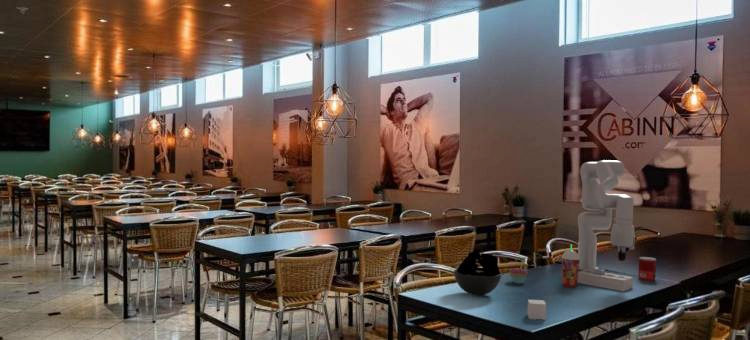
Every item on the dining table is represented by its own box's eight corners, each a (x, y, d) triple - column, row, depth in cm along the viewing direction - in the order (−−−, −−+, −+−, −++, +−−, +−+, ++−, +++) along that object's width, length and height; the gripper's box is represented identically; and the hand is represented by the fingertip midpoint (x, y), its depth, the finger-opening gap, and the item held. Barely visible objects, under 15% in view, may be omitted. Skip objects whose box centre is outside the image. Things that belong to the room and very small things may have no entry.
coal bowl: (490, 303, 241) (492, 257, 240) (445, 295, 251) (447, 251, 251) (506, 294, 258) (508, 251, 257) (464, 287, 268) (466, 246, 268)
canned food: (657, 281, 298) (658, 259, 298) (640, 280, 299) (641, 258, 299) (653, 278, 305) (654, 257, 305) (636, 277, 307) (637, 256, 307)
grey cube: (545, 320, 218) (546, 304, 218) (529, 319, 219) (529, 303, 219) (543, 316, 224) (544, 300, 224) (527, 314, 225) (527, 299, 225)
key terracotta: (603, 283, 283) (604, 274, 282) (607, 282, 285) (607, 273, 285) (612, 284, 280) (612, 275, 280) (615, 283, 283) (615, 274, 283)
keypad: (576, 282, 289) (576, 272, 288) (585, 279, 296) (586, 269, 296) (623, 291, 273) (624, 280, 272) (632, 287, 281) (633, 277, 280)
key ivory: (615, 285, 279) (615, 276, 279) (618, 284, 282) (618, 275, 282) (623, 286, 276) (624, 277, 276) (626, 285, 279) (627, 276, 279)
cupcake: (528, 282, 285) (529, 257, 285) (525, 285, 278) (526, 260, 277) (510, 279, 289) (511, 255, 289) (507, 283, 281) (508, 258, 281)
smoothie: (578, 285, 281) (580, 243, 281) (578, 289, 274) (580, 246, 273) (560, 283, 284) (562, 242, 284) (560, 287, 276) (561, 244, 276)
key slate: (593, 277, 286) (593, 269, 286) (596, 276, 289) (596, 268, 289) (601, 279, 284) (601, 270, 283) (604, 278, 286) (604, 269, 286)
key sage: (582, 279, 290) (582, 270, 290) (585, 278, 293) (586, 269, 293) (590, 280, 287) (590, 272, 287) (593, 279, 290) (593, 271, 290)
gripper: (605, 220, 281) (602, 258, 282) (637, 224, 270) (634, 264, 271) (611, 219, 286) (609, 256, 287) (643, 223, 276) (640, 262, 277)
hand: (621, 260), depth 279 cm, fingers closed
